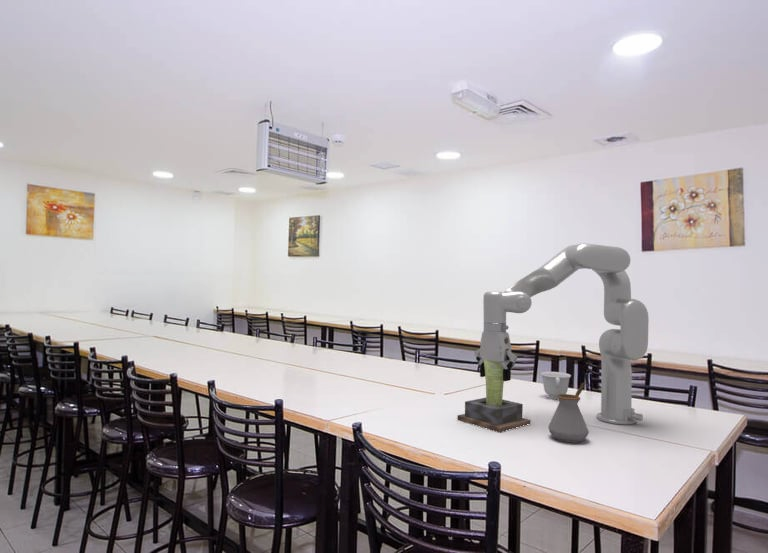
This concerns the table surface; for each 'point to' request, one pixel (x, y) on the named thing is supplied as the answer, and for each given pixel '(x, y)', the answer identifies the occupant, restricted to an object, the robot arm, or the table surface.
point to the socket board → (494, 415)
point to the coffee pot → (569, 419)
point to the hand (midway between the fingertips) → (495, 378)
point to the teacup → (555, 383)
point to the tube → (494, 382)
